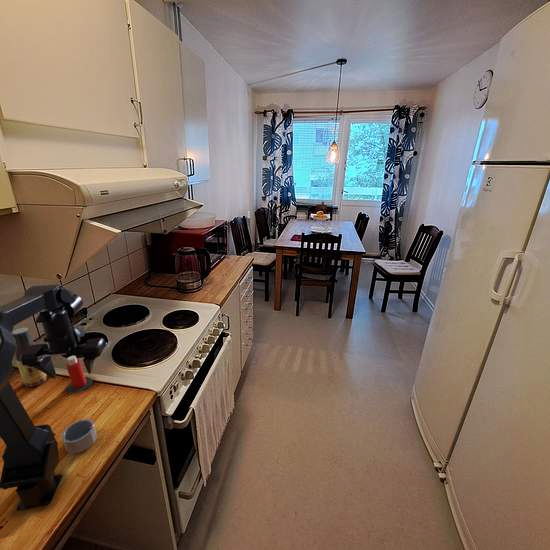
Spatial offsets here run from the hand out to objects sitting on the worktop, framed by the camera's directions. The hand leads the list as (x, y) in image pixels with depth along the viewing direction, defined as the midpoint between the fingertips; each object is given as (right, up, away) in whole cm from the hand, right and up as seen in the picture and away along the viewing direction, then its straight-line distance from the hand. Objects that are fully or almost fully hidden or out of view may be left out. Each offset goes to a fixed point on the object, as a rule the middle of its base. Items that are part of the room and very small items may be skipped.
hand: (72, 375), depth 82 cm
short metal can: (+6, -16, -5) cm, 18 cm away
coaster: (-7, -8, +14) cm, 18 cm away
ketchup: (-7, -8, +14) cm, 17 cm away
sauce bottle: (-23, -8, +15) cm, 29 cm away
